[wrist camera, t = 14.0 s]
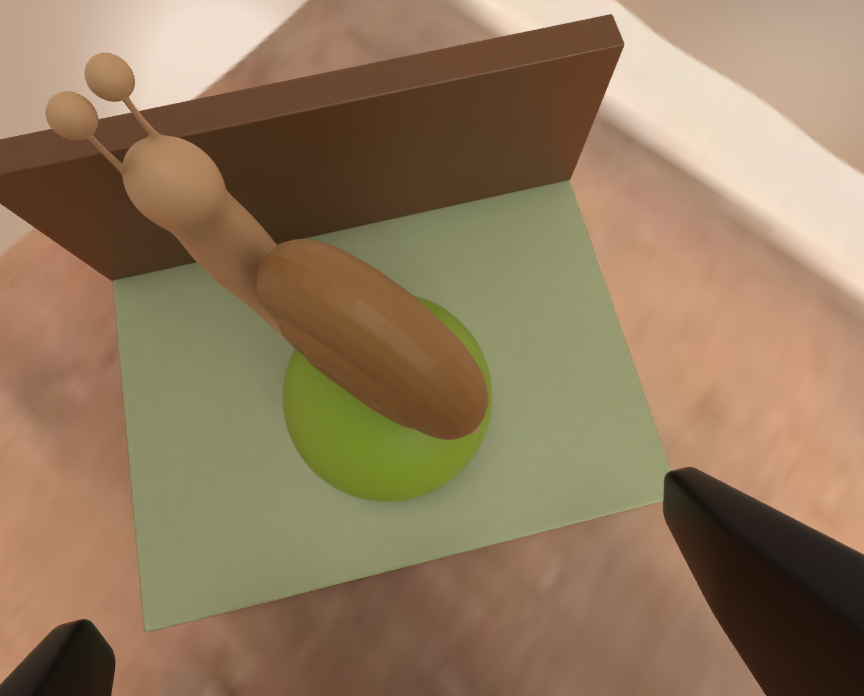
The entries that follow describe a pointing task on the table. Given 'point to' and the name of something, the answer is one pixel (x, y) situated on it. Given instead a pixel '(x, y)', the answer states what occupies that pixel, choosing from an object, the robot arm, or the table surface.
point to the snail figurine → (314, 319)
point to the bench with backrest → (397, 259)
